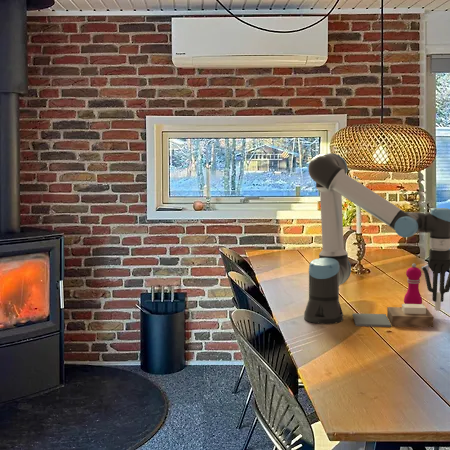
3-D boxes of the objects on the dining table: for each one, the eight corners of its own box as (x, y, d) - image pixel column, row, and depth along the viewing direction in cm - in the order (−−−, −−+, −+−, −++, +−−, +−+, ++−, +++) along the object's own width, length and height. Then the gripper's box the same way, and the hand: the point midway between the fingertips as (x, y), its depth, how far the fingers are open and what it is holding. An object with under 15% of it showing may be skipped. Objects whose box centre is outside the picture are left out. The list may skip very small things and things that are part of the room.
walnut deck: (392, 326, 225) (392, 315, 225) (387, 316, 238) (387, 307, 238) (433, 327, 223) (433, 316, 223) (426, 317, 236) (426, 307, 236)
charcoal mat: (355, 326, 226) (355, 323, 226) (352, 315, 241) (352, 313, 241) (391, 326, 224) (391, 324, 224) (385, 316, 239) (385, 314, 239)
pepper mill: (424, 313, 242) (425, 265, 240) (406, 313, 242) (407, 265, 240) (418, 309, 249) (420, 261, 247) (401, 309, 250) (402, 261, 247)
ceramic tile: (404, 313, 228) (404, 307, 228) (401, 309, 233) (401, 303, 233) (425, 314, 227) (426, 307, 227) (422, 310, 232) (423, 304, 232)
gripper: (424, 250, 223) (421, 311, 226) (460, 250, 221) (457, 312, 224) (420, 247, 230) (418, 306, 233) (455, 247, 229) (452, 307, 232)
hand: (437, 309), depth 229 cm, fingers closed
